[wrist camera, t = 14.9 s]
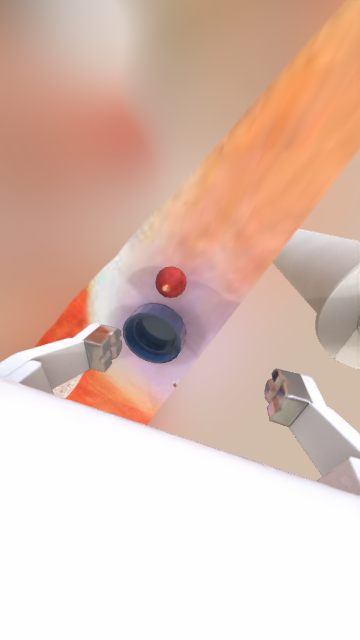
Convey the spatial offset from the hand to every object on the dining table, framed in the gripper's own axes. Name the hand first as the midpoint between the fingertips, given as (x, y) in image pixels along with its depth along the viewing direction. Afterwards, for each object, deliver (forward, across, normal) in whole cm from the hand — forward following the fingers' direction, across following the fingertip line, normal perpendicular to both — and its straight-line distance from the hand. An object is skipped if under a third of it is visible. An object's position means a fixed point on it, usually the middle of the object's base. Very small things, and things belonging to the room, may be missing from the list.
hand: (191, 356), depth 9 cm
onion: (+29, +8, +6) cm, 30 cm away
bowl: (+28, +11, +20) cm, 36 cm away
